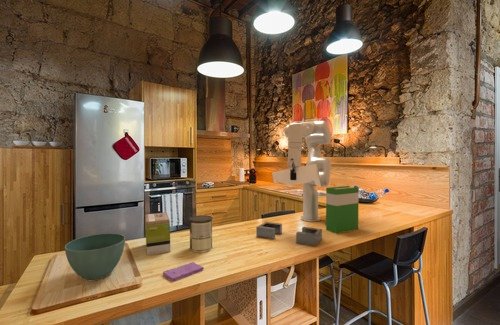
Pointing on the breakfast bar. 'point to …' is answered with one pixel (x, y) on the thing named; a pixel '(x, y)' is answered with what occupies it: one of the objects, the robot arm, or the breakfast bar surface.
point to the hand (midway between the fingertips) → (295, 179)
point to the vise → (305, 237)
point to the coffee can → (200, 233)
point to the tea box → (157, 233)
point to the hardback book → (342, 209)
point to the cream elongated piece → (298, 175)
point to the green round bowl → (95, 254)
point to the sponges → (182, 271)
